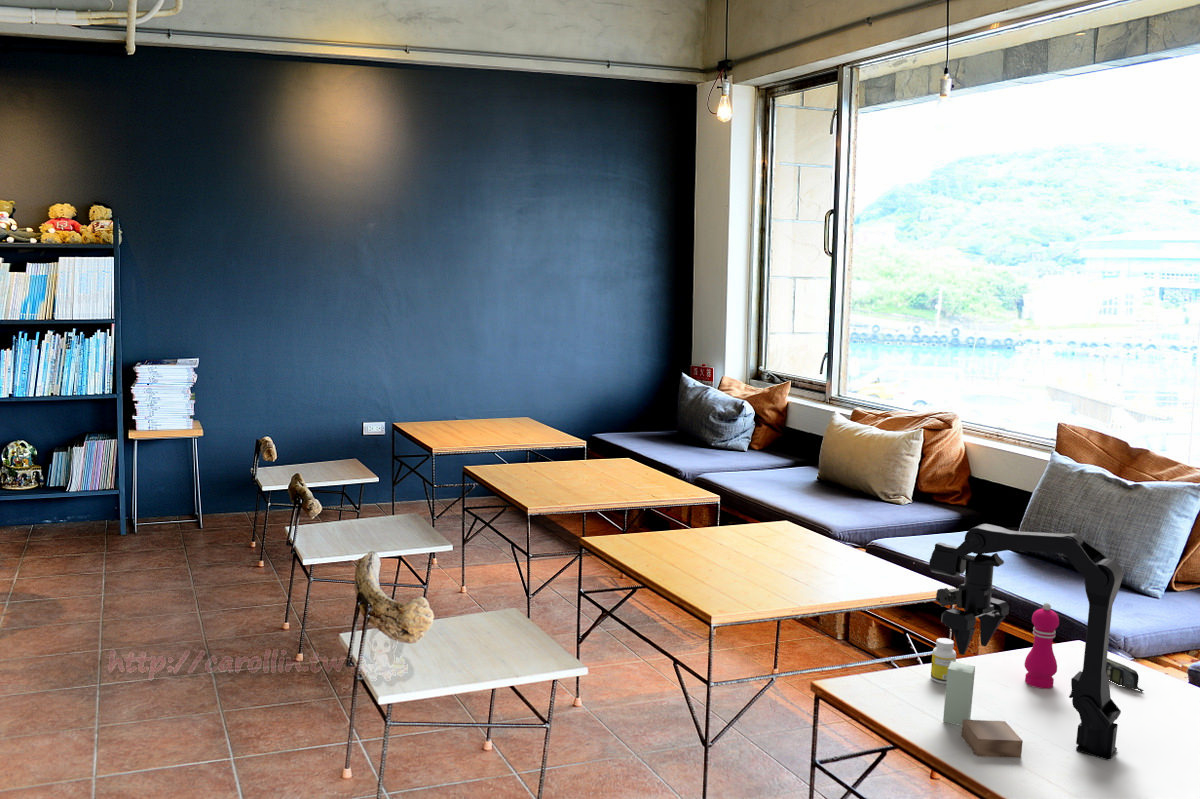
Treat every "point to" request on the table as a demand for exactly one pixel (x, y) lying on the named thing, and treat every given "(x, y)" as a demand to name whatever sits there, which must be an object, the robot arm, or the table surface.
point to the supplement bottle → (942, 659)
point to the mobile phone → (1122, 675)
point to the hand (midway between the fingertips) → (972, 650)
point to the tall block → (958, 693)
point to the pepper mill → (1042, 649)
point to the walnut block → (991, 738)
